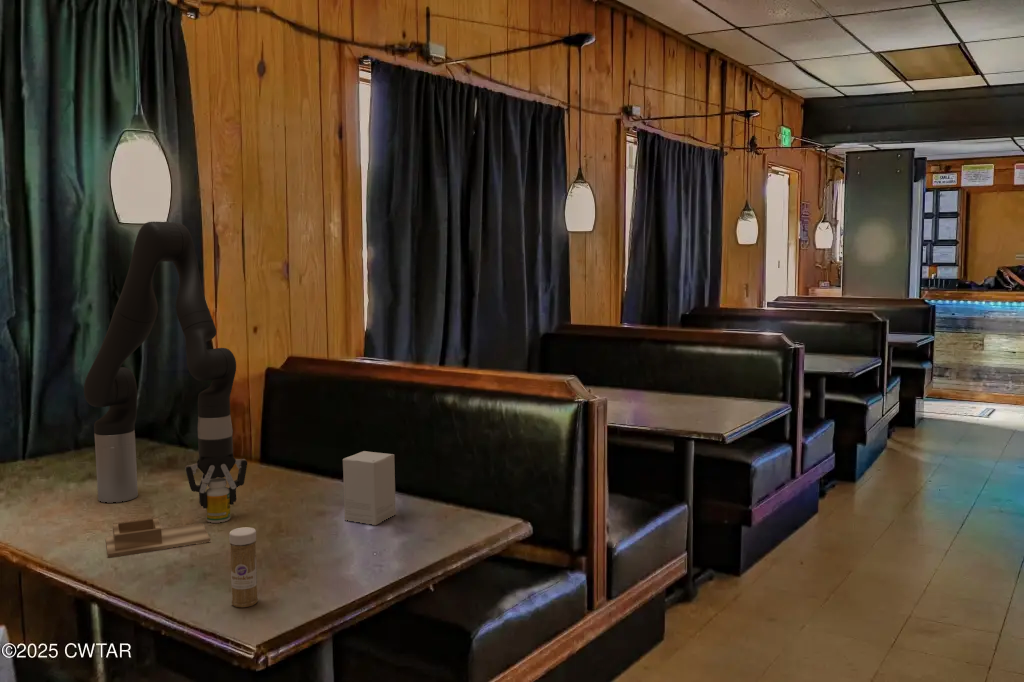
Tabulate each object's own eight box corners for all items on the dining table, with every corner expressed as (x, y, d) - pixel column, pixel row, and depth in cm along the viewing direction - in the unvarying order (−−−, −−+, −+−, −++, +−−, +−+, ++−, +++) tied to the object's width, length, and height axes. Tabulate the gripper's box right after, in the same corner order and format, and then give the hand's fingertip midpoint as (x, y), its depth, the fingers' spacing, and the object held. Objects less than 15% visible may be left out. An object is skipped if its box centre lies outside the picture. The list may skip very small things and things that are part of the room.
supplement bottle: (205, 518, 200) (203, 478, 199) (229, 515, 202) (227, 475, 201) (208, 524, 195) (206, 484, 194) (232, 521, 198) (230, 481, 196)
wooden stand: (105, 540, 185) (104, 522, 185) (202, 526, 194) (201, 509, 194) (107, 557, 175) (106, 539, 174) (210, 542, 184) (209, 524, 183)
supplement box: (397, 515, 202) (396, 453, 201) (375, 526, 194) (374, 462, 193) (365, 510, 206) (364, 449, 204) (343, 521, 198) (341, 458, 196)
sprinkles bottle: (232, 610, 149) (229, 536, 148) (231, 600, 154) (228, 528, 152) (259, 606, 151) (257, 532, 150) (257, 596, 155) (254, 525, 154)
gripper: (244, 428, 203) (246, 497, 205) (180, 434, 197) (183, 505, 198) (250, 434, 196) (252, 505, 198) (184, 441, 190) (187, 514, 192)
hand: (218, 505), depth 198 cm, fingers closed on supplement bottle, 5 cm apart
